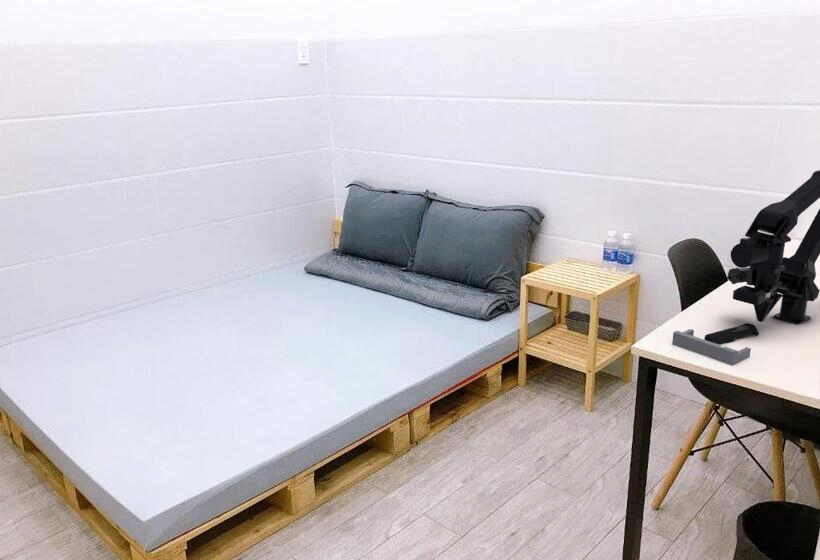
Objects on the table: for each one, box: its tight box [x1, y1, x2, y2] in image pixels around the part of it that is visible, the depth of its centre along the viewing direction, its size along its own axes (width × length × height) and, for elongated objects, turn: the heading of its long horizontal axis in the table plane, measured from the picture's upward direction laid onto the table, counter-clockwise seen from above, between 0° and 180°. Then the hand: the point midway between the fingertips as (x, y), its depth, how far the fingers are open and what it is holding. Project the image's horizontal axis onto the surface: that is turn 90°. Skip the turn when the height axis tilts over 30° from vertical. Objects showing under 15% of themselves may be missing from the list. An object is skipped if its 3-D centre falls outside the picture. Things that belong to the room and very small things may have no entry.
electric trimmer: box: [704, 322, 760, 344], centre depth 162 cm, size 4×16×3 cm, turn 113°
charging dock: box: [671, 328, 752, 366], centre depth 156 cm, size 7×15×3 cm, turn 36°
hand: (760, 321), depth 168 cm, fingers closed
